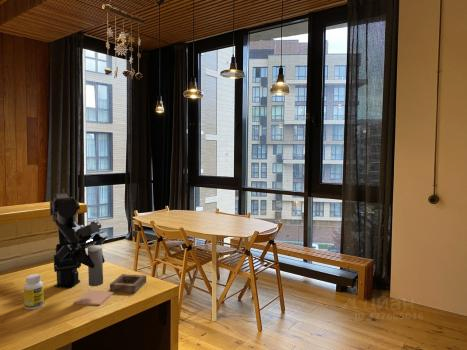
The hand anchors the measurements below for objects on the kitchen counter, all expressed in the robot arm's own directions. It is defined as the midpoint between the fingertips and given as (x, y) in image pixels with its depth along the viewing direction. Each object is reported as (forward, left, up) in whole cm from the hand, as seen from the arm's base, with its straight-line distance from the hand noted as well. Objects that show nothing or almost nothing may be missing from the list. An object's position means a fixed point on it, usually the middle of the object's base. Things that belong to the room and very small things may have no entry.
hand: (98, 264), depth 115 cm
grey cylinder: (-1, 0, -7) cm, 7 cm away
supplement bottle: (-18, -8, -12) cm, 23 cm away
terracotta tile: (-2, 0, -12) cm, 12 cm away
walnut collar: (+5, +11, -12) cm, 17 cm away
